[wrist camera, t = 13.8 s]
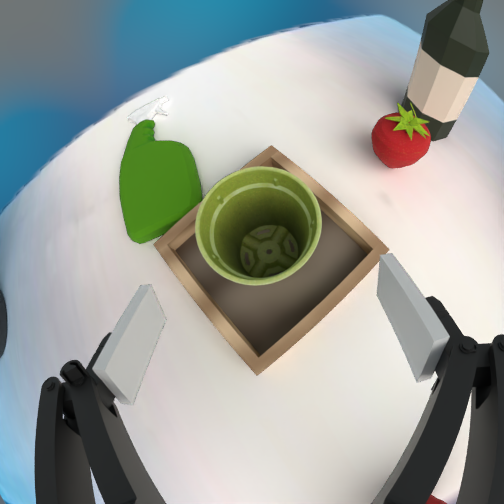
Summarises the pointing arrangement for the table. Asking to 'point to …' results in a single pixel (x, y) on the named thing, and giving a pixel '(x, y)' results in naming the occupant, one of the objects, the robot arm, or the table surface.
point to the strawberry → (400, 138)
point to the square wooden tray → (284, 291)
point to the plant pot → (258, 225)
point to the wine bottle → (447, 65)
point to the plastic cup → (434, 500)
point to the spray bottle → (155, 178)
